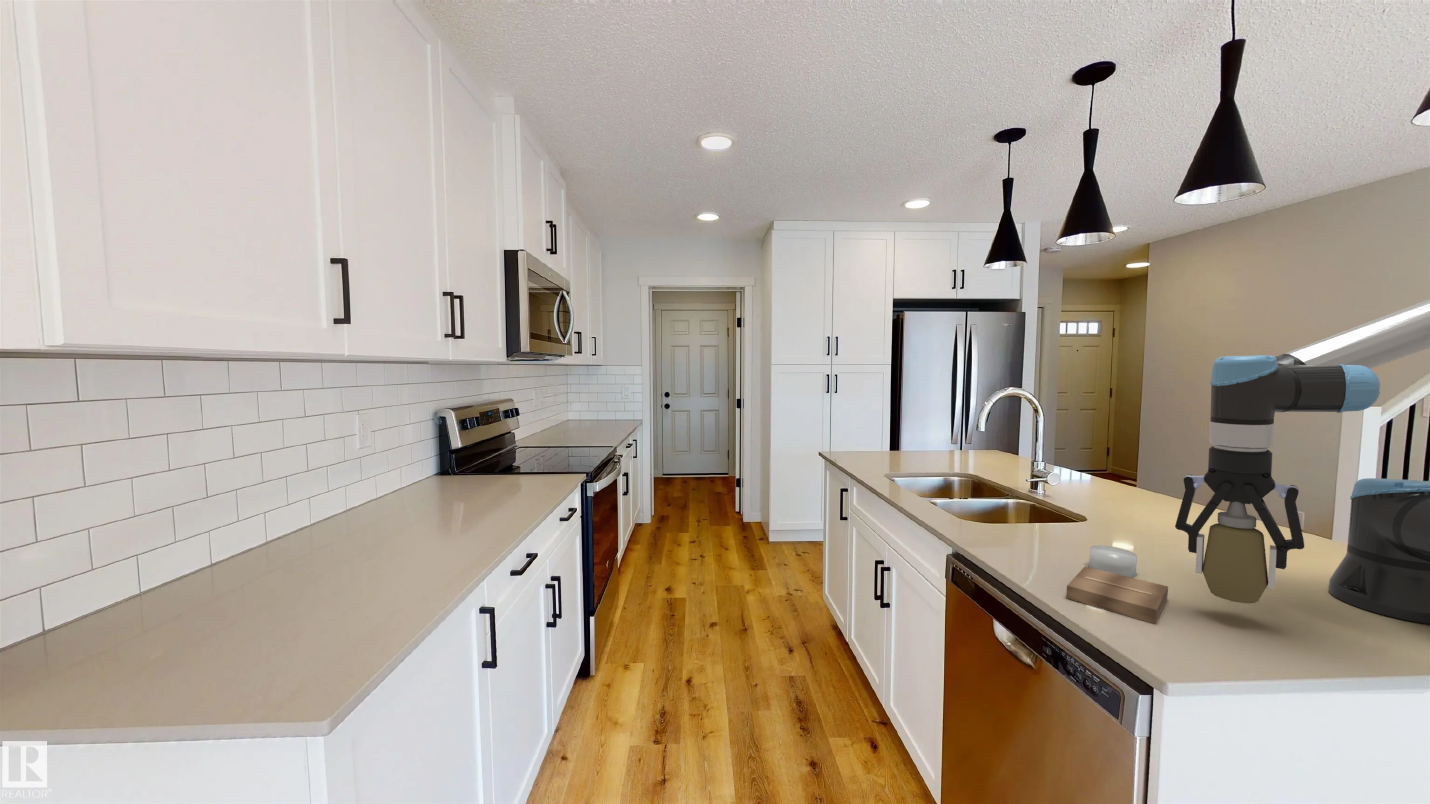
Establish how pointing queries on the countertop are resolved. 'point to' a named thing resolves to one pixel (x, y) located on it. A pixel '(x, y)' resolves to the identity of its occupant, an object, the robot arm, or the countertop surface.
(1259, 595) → the squeeze bottle
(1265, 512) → the robot arm
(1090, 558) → the white dome cap
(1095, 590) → the plate
